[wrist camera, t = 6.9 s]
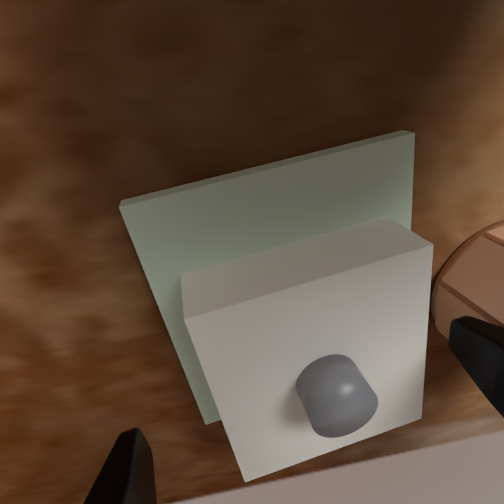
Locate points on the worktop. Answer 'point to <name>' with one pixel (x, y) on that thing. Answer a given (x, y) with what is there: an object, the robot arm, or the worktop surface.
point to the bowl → (472, 281)
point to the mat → (261, 220)
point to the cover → (314, 341)
